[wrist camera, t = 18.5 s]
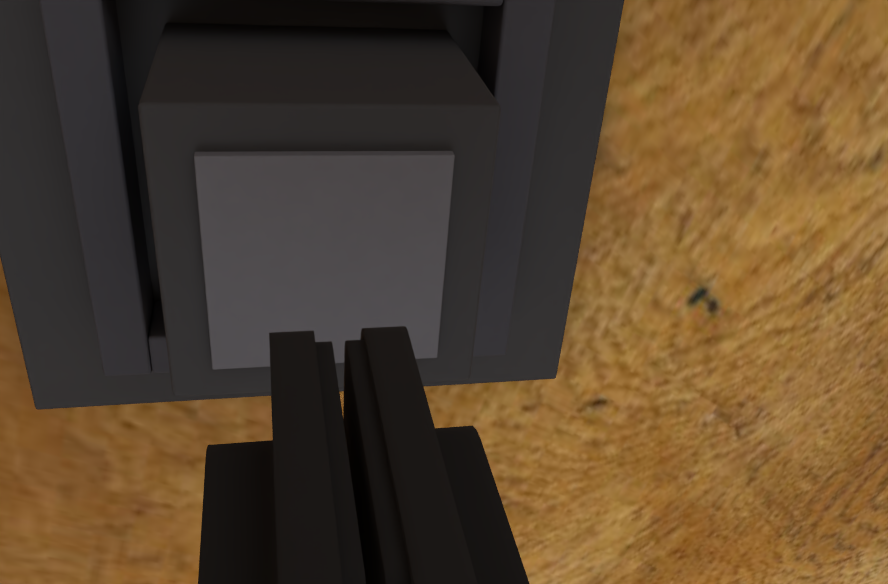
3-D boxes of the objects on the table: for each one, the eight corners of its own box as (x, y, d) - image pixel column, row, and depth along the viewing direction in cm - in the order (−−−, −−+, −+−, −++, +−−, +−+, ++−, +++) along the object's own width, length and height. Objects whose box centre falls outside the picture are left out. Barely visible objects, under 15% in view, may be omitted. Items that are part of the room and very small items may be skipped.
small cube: (448, 28, 17) (505, 110, 13) (430, 264, 20) (473, 388, 16) (164, 21, 16) (135, 107, 12) (188, 271, 19) (171, 405, 15)
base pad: (636, -176, 17) (691, -166, 15) (545, 357, 23) (574, 415, 21) (-93, -233, 14) (-154, -231, 12) (44, 384, 21) (20, 453, 19)
